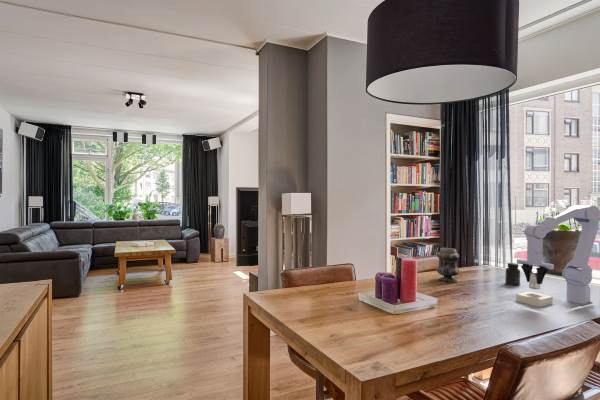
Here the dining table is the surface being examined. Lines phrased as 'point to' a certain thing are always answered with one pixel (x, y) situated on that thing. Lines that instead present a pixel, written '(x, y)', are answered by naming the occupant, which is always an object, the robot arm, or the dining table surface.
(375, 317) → the dining table surface
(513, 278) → the supplement bottle
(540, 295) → the cream recessed block
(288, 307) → the dining table surface
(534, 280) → the metal peg
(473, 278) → the dining table surface
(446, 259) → the apothecary jar
